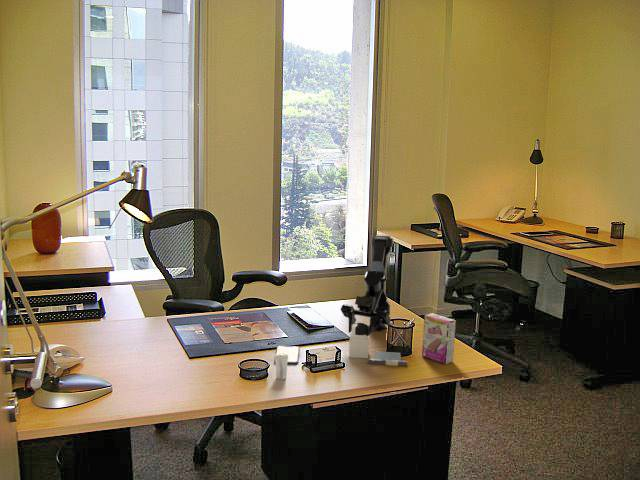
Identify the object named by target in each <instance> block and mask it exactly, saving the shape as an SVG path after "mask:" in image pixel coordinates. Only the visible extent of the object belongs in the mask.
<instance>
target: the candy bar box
mask: <svg viewBox="0 0 640 480" xmlns="http://www.w3.org/2000/svg"><path fill="white" fill-rule="evenodd" d="M423 322H424V323H423V333H422V335H423V337H422V350H421V351H422V352H421V356H422V357H423V358H426V359H429V360H432V361H434V362H437V363H440V364H443V365H449V364H450V363H453V362H454V353H455V352H454V350H455V339H456V336H455V335H456V325H457V320H455V319H454V318H449V317H446V316H443V315H440V314H436V313H433V312H431V313H427V314H425V315H424V319H423Z"/></svg>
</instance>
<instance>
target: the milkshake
mask: <svg viewBox="0 0 640 480" xmlns="http://www.w3.org/2000/svg"><path fill="white" fill-rule="evenodd" d="M272 353H273V355H274V360H275V363H276V364H275V377H276V379H277V380H279V381H280V380H281V381H283V380H285V379H286V378H287V371H288V365H287V362H288V354H287V353H285V352H282V351H280V352H278V353H276V352H274V351H273V352H272ZM275 353H276V354H275Z"/></svg>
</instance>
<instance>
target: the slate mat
mask: <svg viewBox="0 0 640 480" xmlns="http://www.w3.org/2000/svg"><path fill="white" fill-rule="evenodd" d="M401 356H402V355H401V352H396V351H395V352H393V351H391V352H390V351H381V350H379V351H376V350H375V351H374V359H388V360H401V358H402V357H401Z"/></svg>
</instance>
